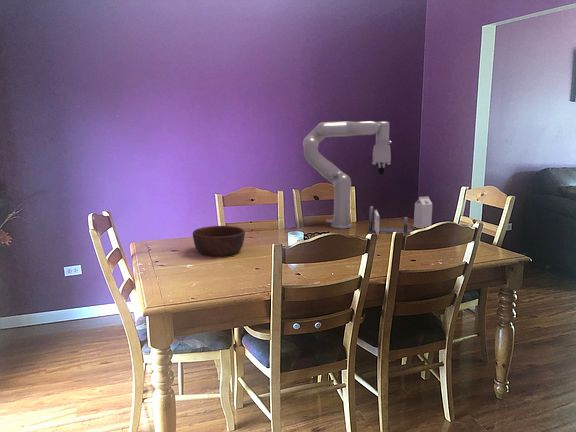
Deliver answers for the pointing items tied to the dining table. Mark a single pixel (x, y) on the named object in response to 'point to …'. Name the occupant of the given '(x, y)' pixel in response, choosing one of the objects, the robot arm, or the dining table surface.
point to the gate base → (388, 230)
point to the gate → (376, 221)
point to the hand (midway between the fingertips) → (381, 174)
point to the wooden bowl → (218, 240)
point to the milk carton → (423, 212)
